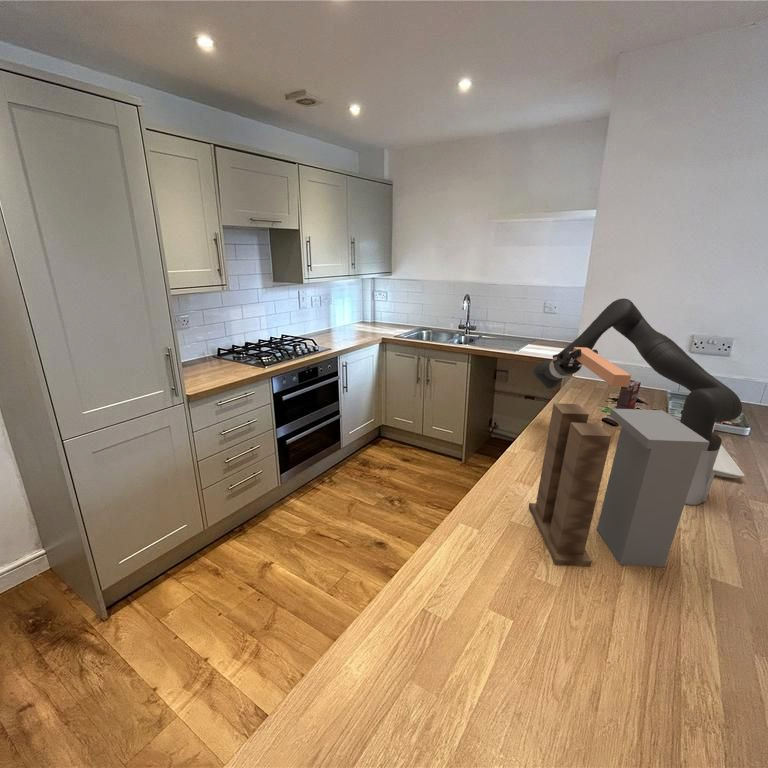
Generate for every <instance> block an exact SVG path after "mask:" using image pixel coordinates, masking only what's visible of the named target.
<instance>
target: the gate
mask: <svg viewBox="0 0 768 768" xmlns="http://www.w3.org/2000/svg"><path fill="white" fill-rule="evenodd" d="M589 416H590V415H589V412H587V411H586V410H585V409H584V407H582V406H581V405H580V404H578V403H559V402H558V403H554V402H553V404H552V410H551V415H550V422H549V427H548V433H547V440H546V443H545V444H546V445H545V450H544V456H543V462H542V468H541V474H540V480H539V485H538V489H537V496H536V501H535V502H529V504H528V509H529V512H530V514H531V516H532V518H533V520H534V523H535V524H536V527H537V529H538V532H539V533H540V535H541V537H542V539H543V540H542V541H543V542H544V544H545V546H546V548H547V549H546V550H547V551H548V553H549V555H550V557H551V559H552V561H553V563H554V564H553V565H555V566H568V567H569V566H571V567H572V566H573V567H588V568H591V567H592V564H593V563H592V562H593V561H592V558H590V555H589V554H588V552H587V550H586V546H587V542H588V538H589V534H590V531H591V527H592V526H591V525H592V520H593V517H594V513H595V509H596V504H597V500H598V495H599V491H600V486H601V483H602V478H603V474H604V470H605V466H606V461H607V457H608V453H609V449H610V443H611V440H612V435H611V434H610V433H609V432H608V431H607V430H606V429H605V428H604V427H603V426H602V425H600V424H599V423H594V422H592V423H589V422H588V420H589Z"/></svg>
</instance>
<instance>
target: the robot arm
mask: <svg viewBox="0 0 768 768" xmlns="http://www.w3.org/2000/svg"><path fill="white" fill-rule="evenodd" d="M610 328H613V329H614V330H615V331H616V332H618V333H619V334H621V335H622V336H623V337H624V338H626V339H627V340H628V341H629V342H631V343H632V344H633V345H634V347H635V348H636V350H637V351H638V353H639V355H640V356H641V357H642V359H643V360H644V362H646V363H647V364H648V365H649V366H650V368H652V370H654V371H655V372H656V373H657V374H659V375H660V376H662V377H664V378H666V379H667V380H668V381H669V380H670V381H671V382H673V383H676V384H678V385H680V386H681V387H683V388H684V389H686V390H688V391H689V392H690V393H688V395H687V396H686V398H685V399H684V404H683V406H682V412H681V416H680V421H679V422H681V423H682V424H684V425H685V426H687V427H688V428H690V429H691V430H693V431H694V432H696V433H697V434H698V435H700V436H701V437H703V438H704V439H706V440H707V441H709V442H710V443H709V446H708V449H707V451H702V452H701V455H700V458H699V461H698V464H697V467H696V470H695V474H694V477H693V480H692V483H691V486H690V489H689V492H688V495H687V498H686V502H685V505H690V506H691V505H692V506H697V505H700V504H701V503H706V501H707V498H708V495H709V492H710V490H711V487H712V483H713V481H714V477H715V476H716V475H715V474H714V472H712V470H713V467H714V464H715V461H716V458H717V455H718V452H719V449H720V446H721V445H722V442H723V441H722V438H721V437H720V435H718V434H717V433H715V432H714V431H713V427H714V423H715V422H716V423H726V422H730V421H734V420H736V419H737V418H739V417H741V416H740V415H741V413H742V412H743V404H742V401H741V399H740V397H739V396H738V394H736V392H734V390H732V389H731V388H730V387H728V386H727V385H725V384H724V383H722V382H721V381H720V380H719V379H717V378H716V377H714V376H713V375H711V374H710V373H709V372H707V370H705V369H704V368H703V367H702V366H701V365H700V364H699V363H697V361H696V360H694V359H693V358H692V357H691V356H690V355H688V353H686V351H684V350H683V348H681V347H680V346H679V345H678V344H677V342H675V341H674V340H672V339H671V338H669V337H668V336H667V335H665V334H664V333H661V332H658V331H657V330H655V329H654V328H653V327H652V326H651V324H649V322H648V321H647V320H646V319H645V317H644V316H643V314H642V313H641V312H640V310H639V309H638V307H637V306H636V305H635V303H634V302H633V301H632V300H630V299H628V298H618V299H616V300H614V301H613V302H611V303H610V304H609V305H607V306H606V307H605V308H604V309H603V311H601V313H599V314H598V316H597V317H596V318H595V319H594V320H593V321H592V323H590V324H589V326H588V327H586V329H585V330H584V331H583V332H581V334H580V335H579V336H578V337H577V338H576V339H574V340H573V341H572V342H571V343H570V344H569V345H567V346H566V347H565V348H564V349H562V350H561V351H559V352H558V353H556V354H553V355H552V360H549V359H548V360H543V361H542V360H541V361H540V362H538V363H536V365H535V366H534V367H533V369H532V370H533V371H532V373H533V375H534V376H535V378H536V379H537V380H538V381H539V382H540V383H541V384H542V385H543V387H545V388H546V389H548V390H549V389H550V390H551V389H554V388H557V386H559V385H560V383H561V381H562V380H563V379H564V378H567V377H569V376H571V375H574V374H575V373H578V372H579V371H580V370H581V369H582V366H584V365H583V364H581V363H580V362H579V361H577V360H576V359H577V358H578V357H580V356H581V349H577V350H576V351H573V350H574V347H583V348H589V349H590V350H592V351H593V352H595V353H597V354H598V355H599V351H598V349H594V347H595V345H596V344H597V342H598V340H599V339H600V338H601V337H602V335H604V333H606V332H607V331H608V330H609V329H610ZM712 431H713V432H712Z"/></svg>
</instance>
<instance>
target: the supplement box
mask: <svg viewBox="0 0 768 768" xmlns="http://www.w3.org/2000/svg"><path fill="white" fill-rule="evenodd" d="M640 387H641V382H640V381H637V380H634V379H630V382H629V387H620V390H619V394H618V400H617V403H616V407H615V409H635V406H636V403H637V400H638V399H637V398H638V396H639V391H640Z"/></svg>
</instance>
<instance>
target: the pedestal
mask: <svg viewBox="0 0 768 768" xmlns="http://www.w3.org/2000/svg"><path fill="white" fill-rule="evenodd" d="M609 417H610V418H611V419H612V420H614V421H615V422H616V424H618V425H619V426H620V427H621V428H620V431H619V435H618V440H617V444H616V449H615V452H614V456H613V459H612V460H613V461H612V464H611V468H610V472H609V473H610V474H609V476H608V481H607V486H606V488H605V489H606V490H605V494H604V497H603V501H602V506H601V511H600V513H599V514H600V515H599V519H598V522H597V526H596V531H597V533H598V534H599V535H600V537H601V539H602V540H603V542H604V543H605V545H606V546H607V548H608V549H609V551H610V553H611V554H612V556H613V557H614V558H615V560H616V561H617V563H618V564H619V565H620V566H632V567H633V566H634V567H636V566H637V567H654V568H655V567H657V568H658V567H659V568H665V567H666V564H667V560H668V557H669V555H670V551H671V548H672V545H673V542H674V539H675V535H676V533H677V529H678V526H679V523H680V520H681V516H682V513H683V510H684V507H685V505H686V504H685V502H686V498H687V495H688V492H689V489H690V486H691V483H692V480H693V477H694V474H695V470H696V467H697V464H698V461H699V458H700V455H701V452H702V451H707V449H708V446H709V443H710V442H709V441H707V440H706V439H704V438H703V437H701V436H700V435H698V434H697V433H696V432H694V431H693V430H691V429H690V428H688V427H687V426H685V425H684V424H682V423H681V422H680V421H679V420H678V419H676V418H675V417H673V416H672V415H670V414H669V413H668V412H665V411H664V410H661V409H659V410H658V409H636V408H634V409H616V408H611V410H610V413H609Z"/></svg>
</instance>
